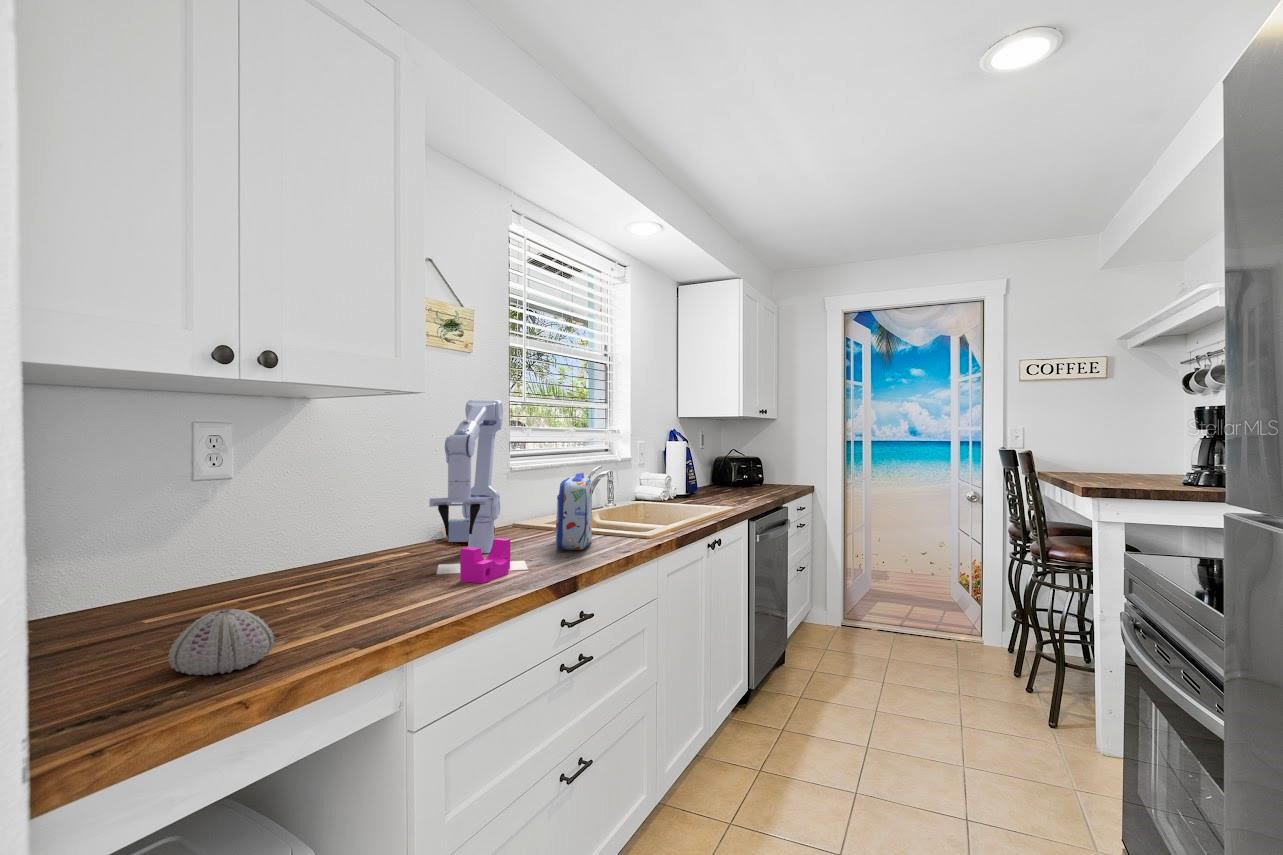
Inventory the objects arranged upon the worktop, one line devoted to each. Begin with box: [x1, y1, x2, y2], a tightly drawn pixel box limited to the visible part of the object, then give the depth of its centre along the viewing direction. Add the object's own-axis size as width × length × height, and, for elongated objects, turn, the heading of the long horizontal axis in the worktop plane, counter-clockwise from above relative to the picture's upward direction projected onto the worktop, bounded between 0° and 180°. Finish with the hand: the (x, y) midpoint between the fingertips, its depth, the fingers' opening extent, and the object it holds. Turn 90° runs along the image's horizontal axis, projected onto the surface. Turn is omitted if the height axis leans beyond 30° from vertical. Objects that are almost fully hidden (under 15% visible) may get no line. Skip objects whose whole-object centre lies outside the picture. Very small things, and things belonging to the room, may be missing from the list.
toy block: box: [459, 537, 511, 585], centre depth 154 cm, size 15×6×8 cm, turn 158°
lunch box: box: [555, 472, 593, 551], centre depth 195 cm, size 28×10×22 cm, turn 3°
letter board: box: [436, 560, 529, 575], centre depth 163 cm, size 11×22×1 cm, turn 105°
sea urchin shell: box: [167, 608, 276, 676], centre depth 96 cm, size 13×14×8 cm
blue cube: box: [448, 518, 469, 543], centre depth 164 cm, size 5×5×5 cm
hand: (459, 534), depth 164 cm, fingers closed on blue cube, 5 cm apart
